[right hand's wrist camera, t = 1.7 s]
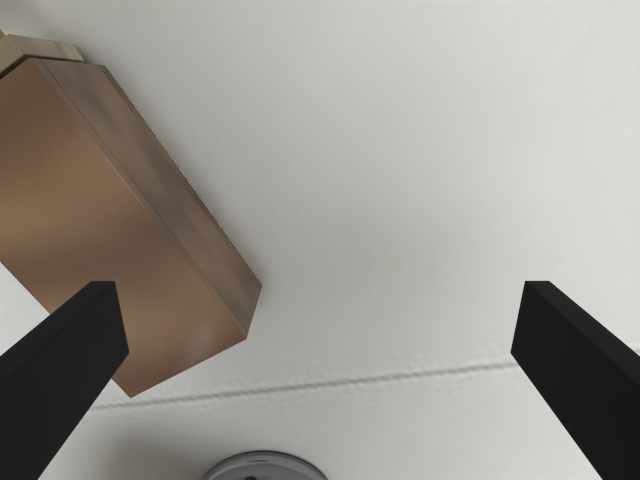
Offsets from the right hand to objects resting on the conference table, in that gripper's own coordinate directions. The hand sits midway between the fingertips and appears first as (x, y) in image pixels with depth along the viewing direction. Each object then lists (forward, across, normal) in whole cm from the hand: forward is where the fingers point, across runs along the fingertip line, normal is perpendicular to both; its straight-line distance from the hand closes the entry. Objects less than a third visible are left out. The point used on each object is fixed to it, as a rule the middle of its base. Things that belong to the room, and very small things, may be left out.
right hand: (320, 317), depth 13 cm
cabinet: (+20, +15, +3) cm, 25 cm away
